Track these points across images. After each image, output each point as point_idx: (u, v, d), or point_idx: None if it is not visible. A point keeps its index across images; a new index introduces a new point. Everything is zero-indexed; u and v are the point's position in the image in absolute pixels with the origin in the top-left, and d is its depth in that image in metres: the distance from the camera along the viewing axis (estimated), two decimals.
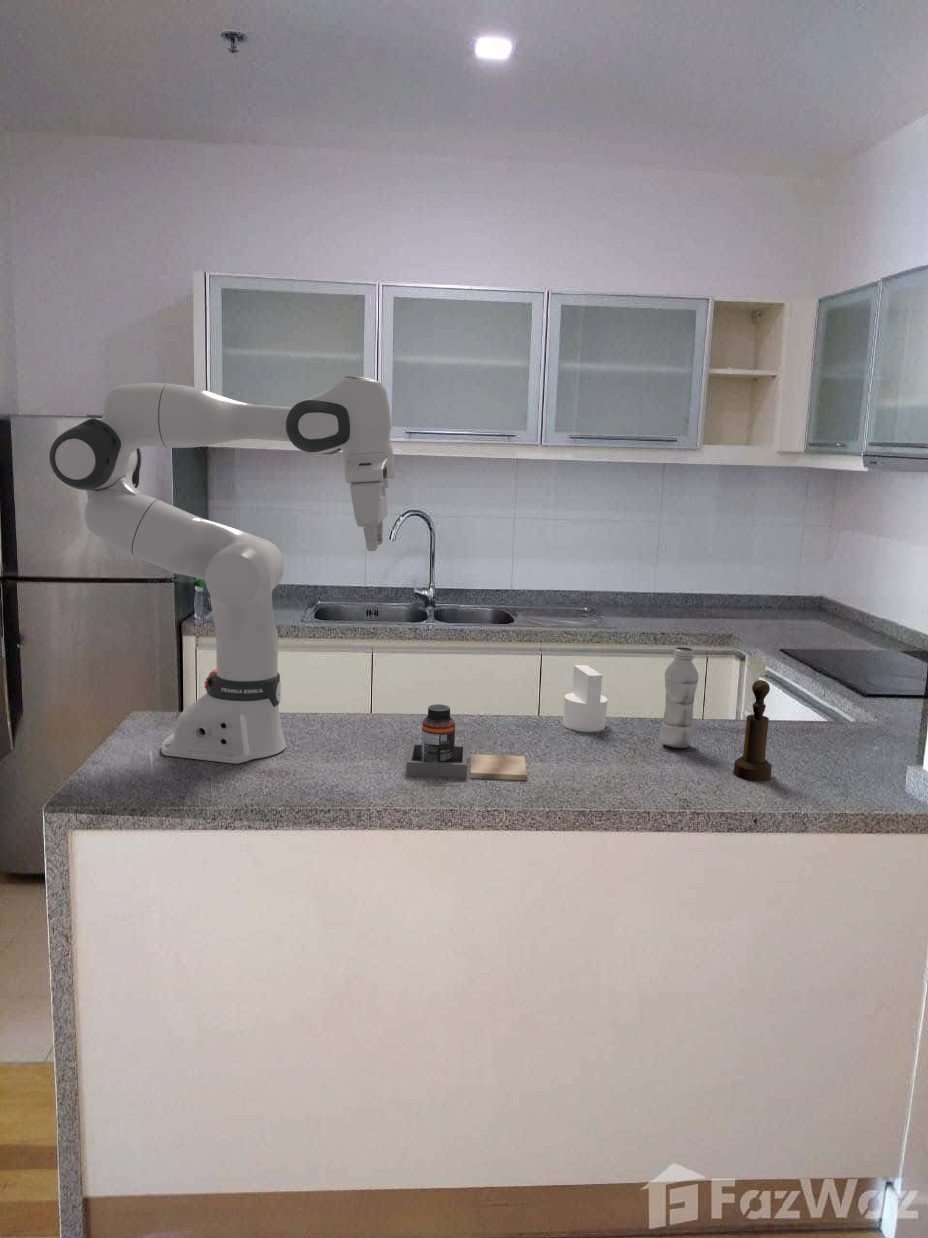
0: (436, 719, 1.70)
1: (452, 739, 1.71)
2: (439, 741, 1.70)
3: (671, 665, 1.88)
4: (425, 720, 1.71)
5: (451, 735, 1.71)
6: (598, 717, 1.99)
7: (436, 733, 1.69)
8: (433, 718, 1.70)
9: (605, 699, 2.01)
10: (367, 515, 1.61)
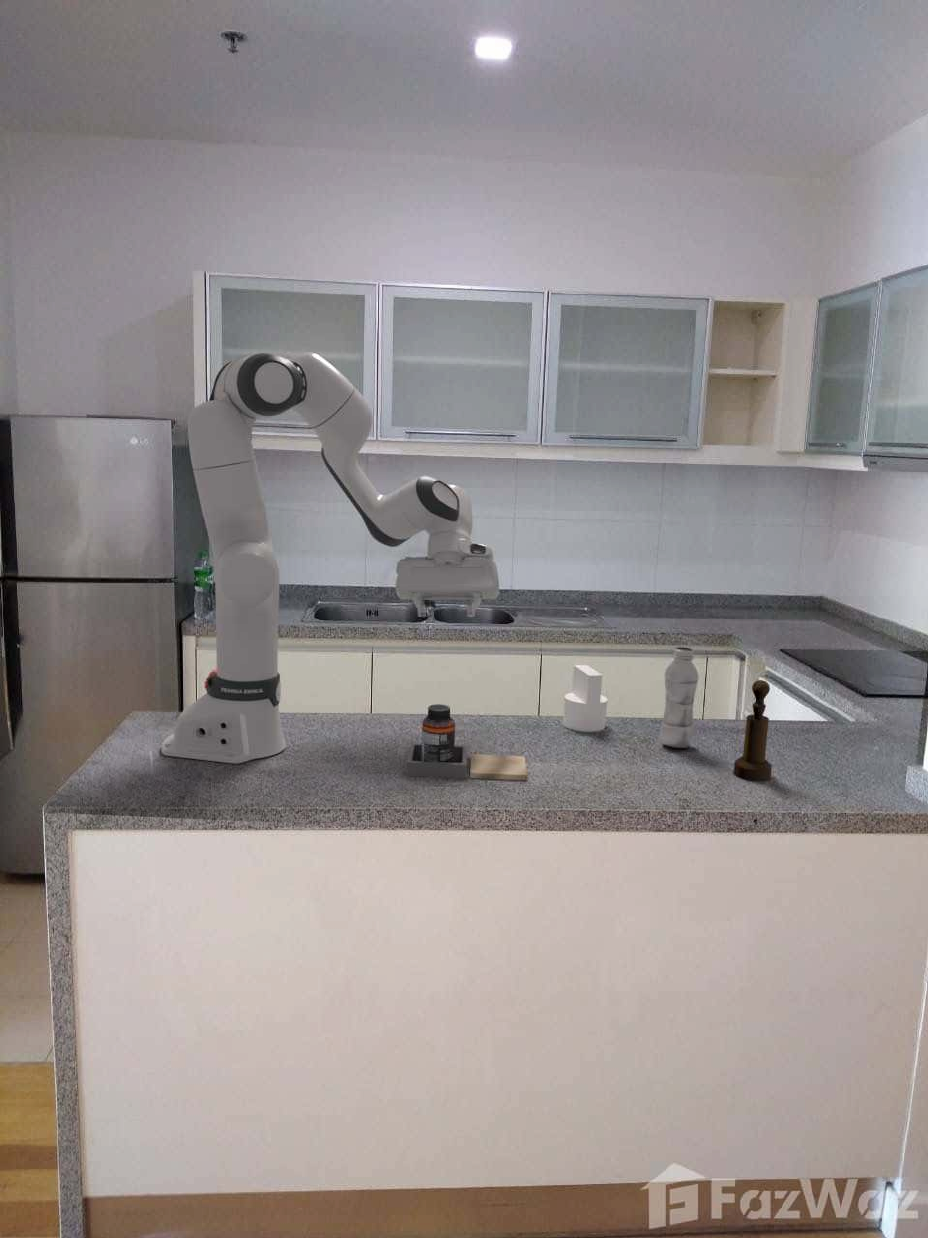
0: (436, 719, 1.70)
1: (452, 739, 1.71)
2: (439, 741, 1.70)
3: (671, 665, 1.88)
4: (425, 720, 1.71)
5: (451, 735, 1.71)
6: (598, 717, 1.99)
7: (436, 733, 1.69)
8: (433, 718, 1.70)
9: (605, 699, 2.01)
10: None
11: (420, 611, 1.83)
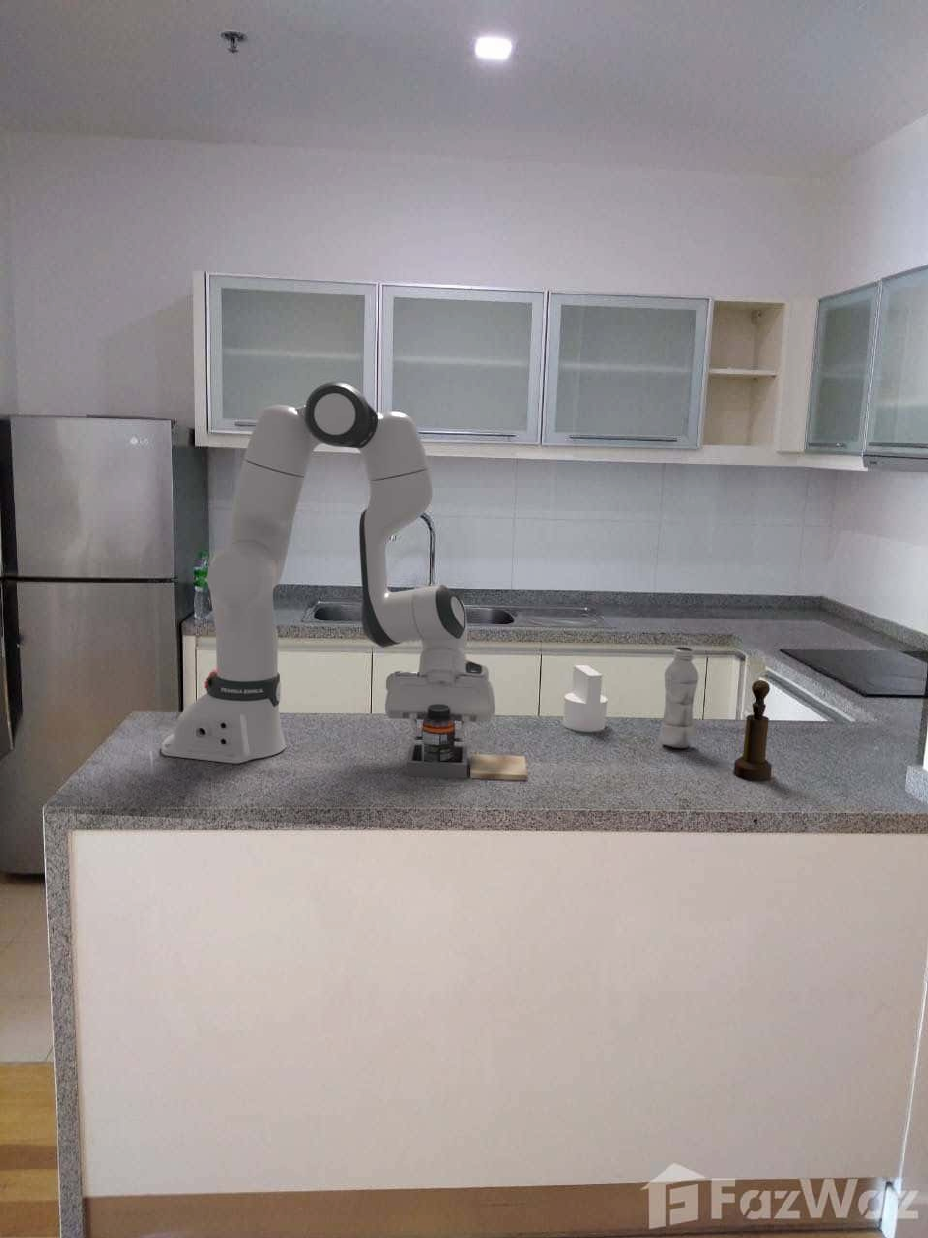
0: (436, 719, 1.70)
1: (452, 739, 1.71)
2: (439, 741, 1.70)
3: (671, 665, 1.88)
4: (425, 720, 1.71)
5: (451, 735, 1.71)
6: (598, 717, 1.99)
7: (436, 733, 1.69)
8: (433, 718, 1.70)
9: (605, 699, 2.01)
10: None
11: (416, 734, 1.71)
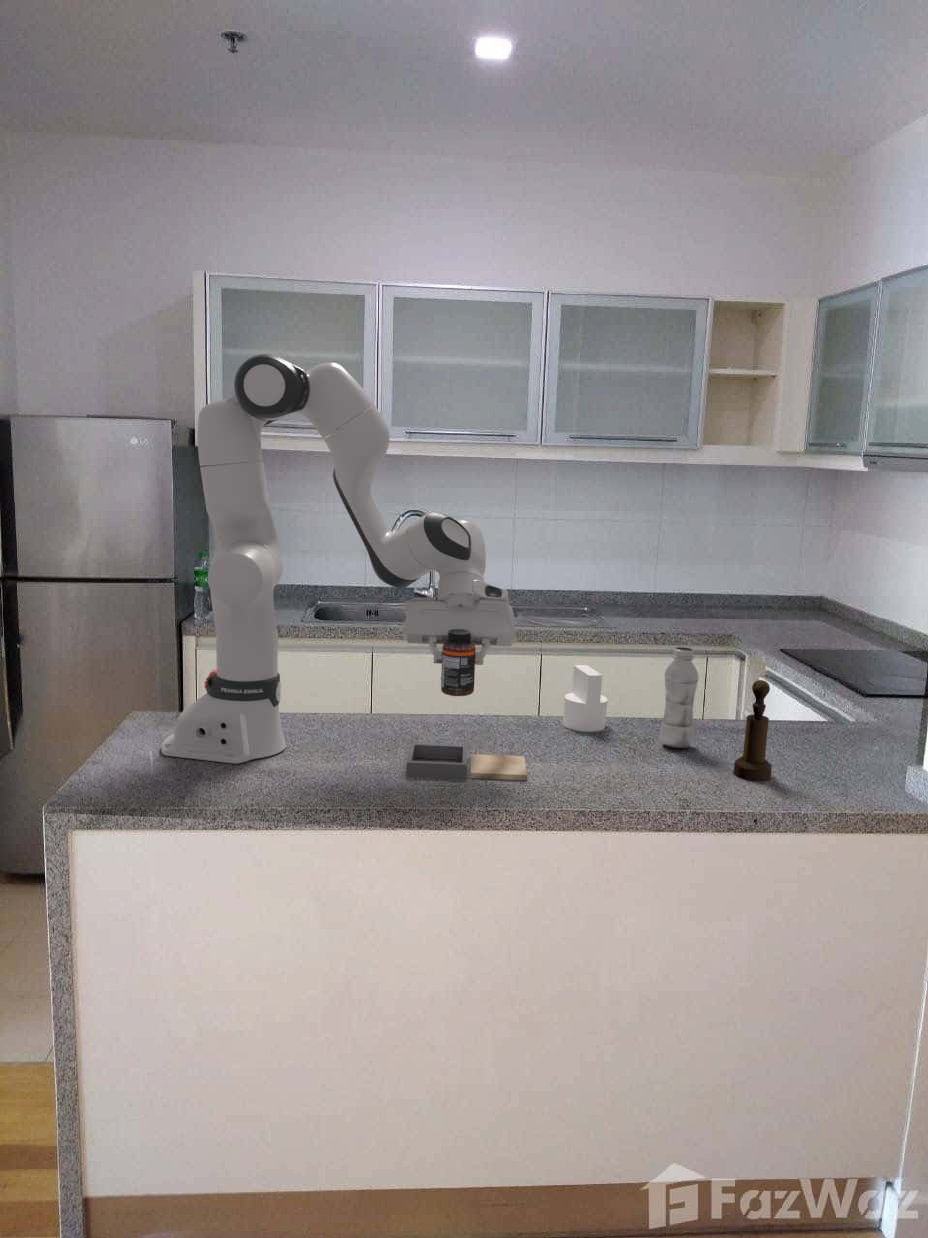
0: (456, 643, 1.67)
1: (472, 663, 1.69)
2: (459, 665, 1.67)
3: (671, 665, 1.88)
4: (445, 644, 1.68)
5: (472, 659, 1.68)
6: (598, 717, 1.99)
7: (457, 656, 1.67)
8: (453, 642, 1.67)
9: (605, 699, 2.01)
10: None
11: (437, 657, 1.69)
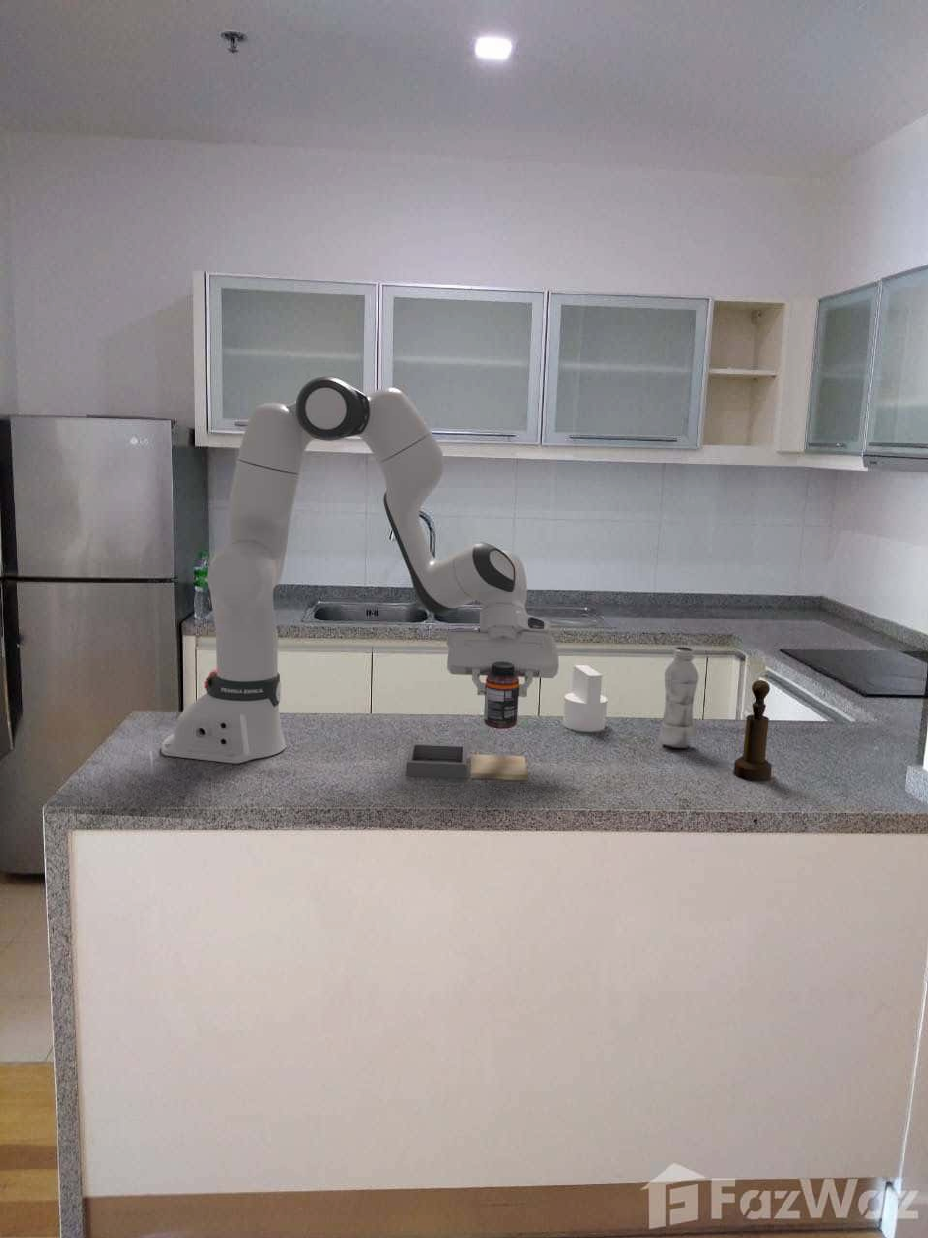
0: (501, 676, 1.68)
1: (516, 696, 1.69)
2: (503, 698, 1.68)
3: (671, 665, 1.88)
4: (489, 677, 1.69)
5: (515, 692, 1.69)
6: (598, 717, 1.99)
7: (501, 690, 1.68)
8: (497, 675, 1.68)
9: (605, 699, 2.01)
10: None
11: (480, 689, 1.70)
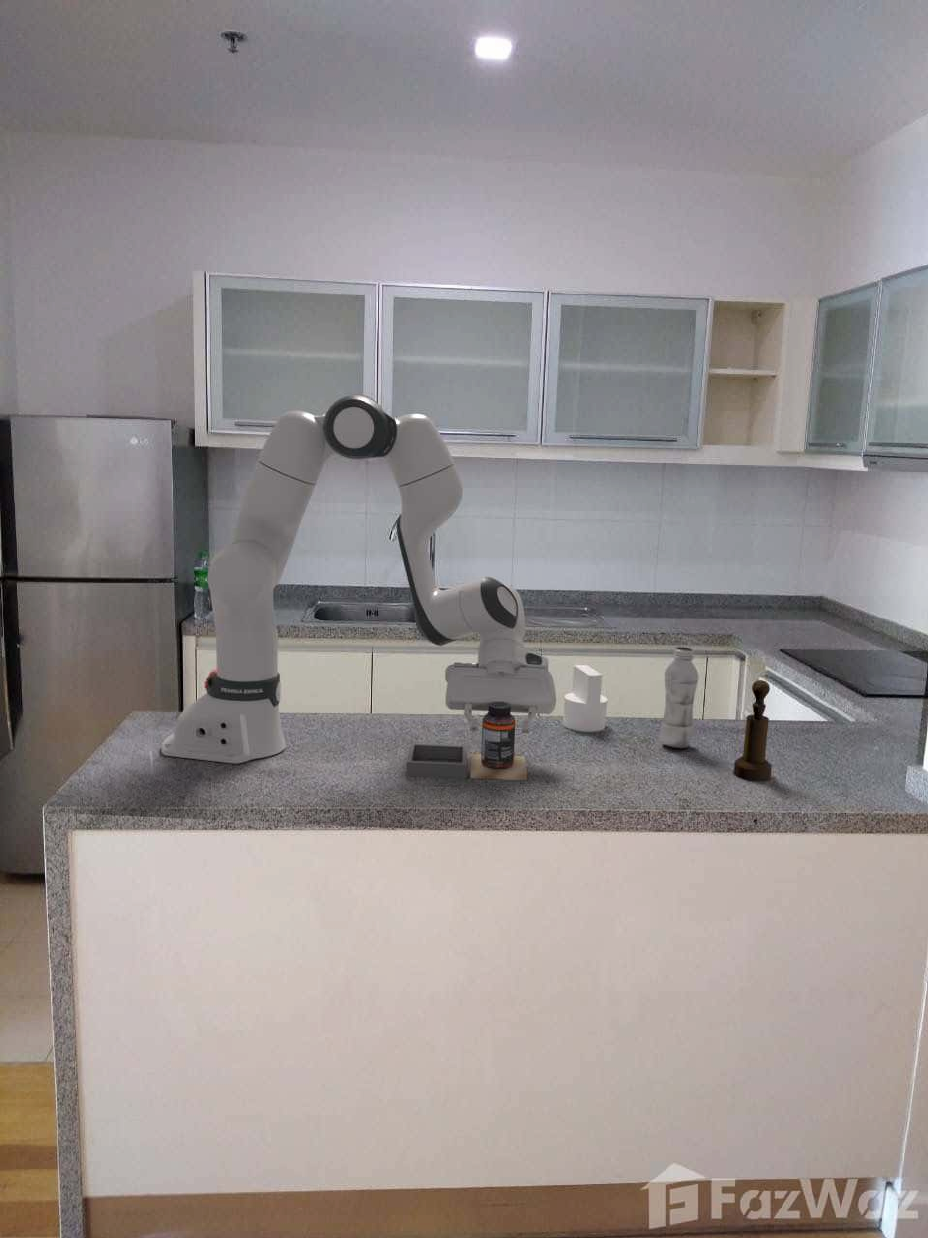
0: (497, 716, 1.70)
1: (513, 736, 1.71)
2: (500, 738, 1.69)
3: (671, 665, 1.88)
4: (486, 717, 1.71)
5: (512, 732, 1.70)
6: (598, 717, 1.99)
7: (497, 730, 1.69)
8: (494, 715, 1.70)
9: (605, 699, 2.01)
10: None
11: (472, 725, 1.71)
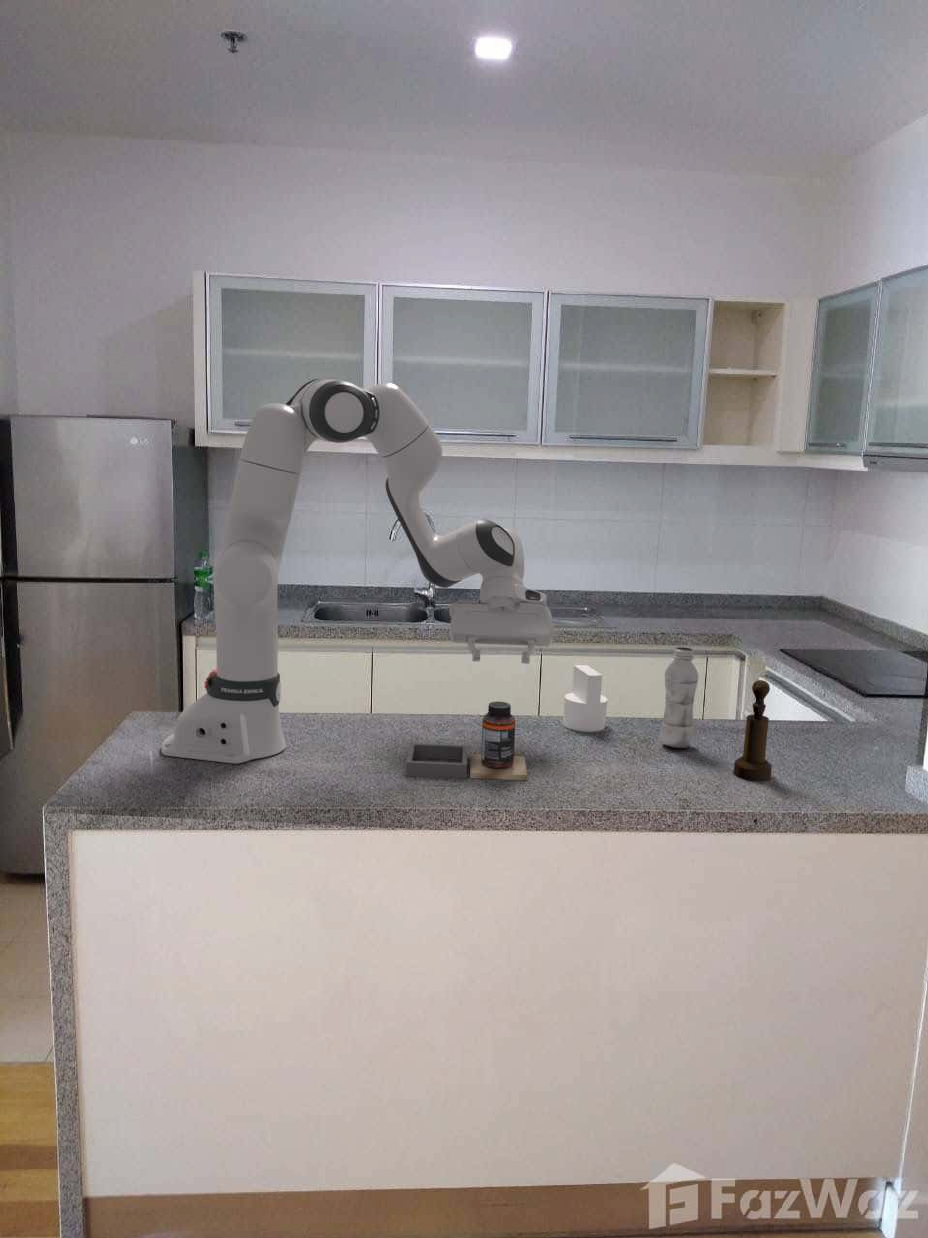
0: (497, 716, 1.70)
1: (513, 736, 1.71)
2: (500, 738, 1.69)
3: (671, 665, 1.88)
4: (486, 717, 1.71)
5: (512, 732, 1.70)
6: (598, 717, 1.99)
7: (497, 730, 1.69)
8: (494, 715, 1.70)
9: (605, 699, 2.01)
10: None
11: (475, 655, 1.82)
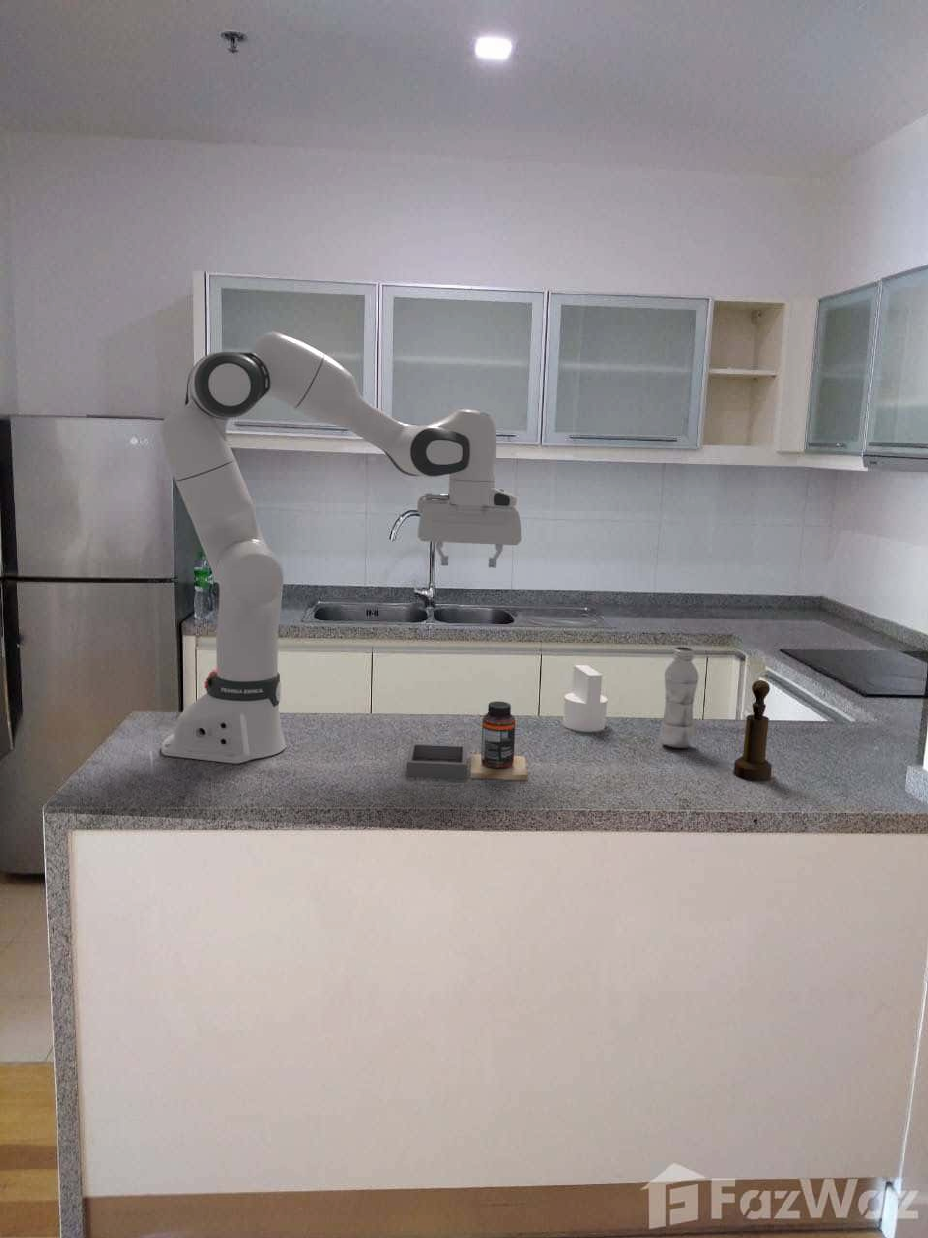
0: (497, 716, 1.70)
1: (513, 736, 1.71)
2: (500, 738, 1.69)
3: (671, 665, 1.88)
4: (486, 717, 1.71)
5: (512, 732, 1.70)
6: (598, 717, 1.99)
7: (497, 730, 1.69)
8: (494, 715, 1.70)
9: (605, 699, 2.01)
10: None
11: (443, 563, 1.87)
